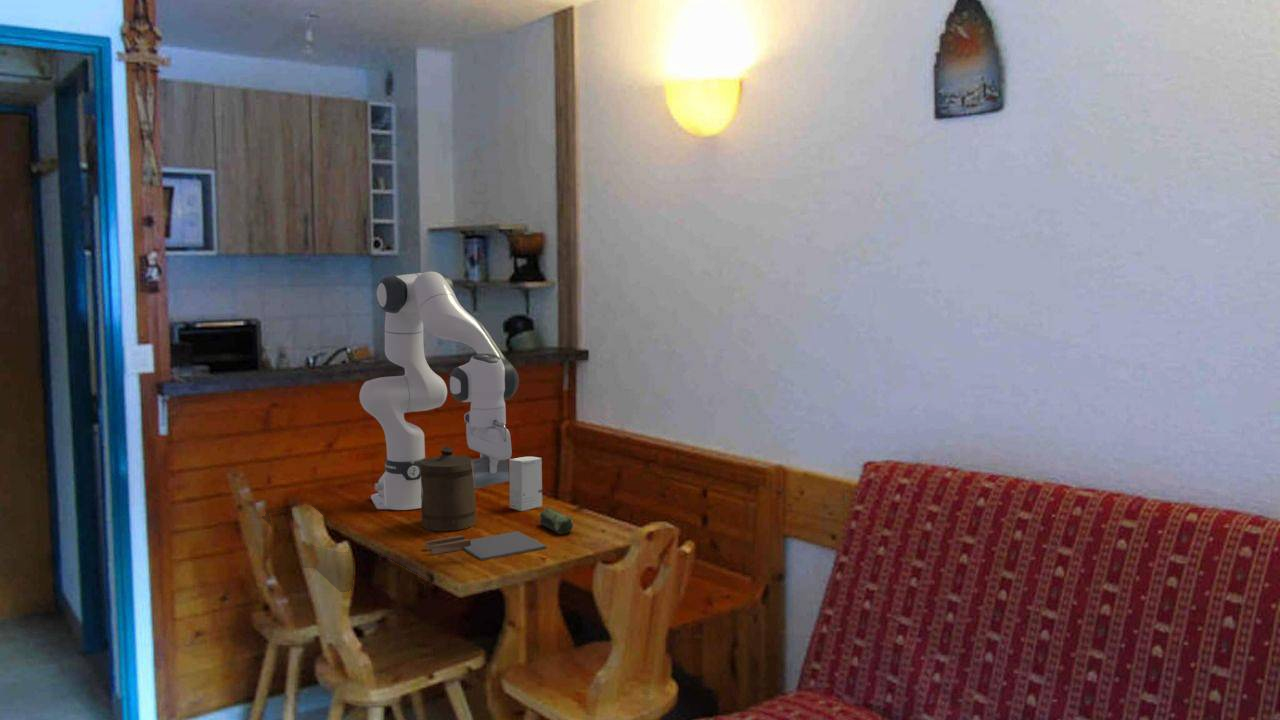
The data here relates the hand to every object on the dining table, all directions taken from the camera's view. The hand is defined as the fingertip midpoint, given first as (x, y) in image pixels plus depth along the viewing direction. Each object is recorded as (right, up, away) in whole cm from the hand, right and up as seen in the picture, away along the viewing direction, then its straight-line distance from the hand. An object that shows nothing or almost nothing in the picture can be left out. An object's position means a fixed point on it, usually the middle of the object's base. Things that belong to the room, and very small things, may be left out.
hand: (489, 471), depth 255 cm
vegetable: (+15, -18, +19) cm, 30 cm away
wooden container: (-15, -18, +24) cm, 33 cm away
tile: (0, -3, +1) cm, 3 cm away
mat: (+2, -20, +3) cm, 20 cm away
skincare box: (+5, -15, +41) cm, 44 cm away
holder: (-11, -20, +2) cm, 23 cm away
